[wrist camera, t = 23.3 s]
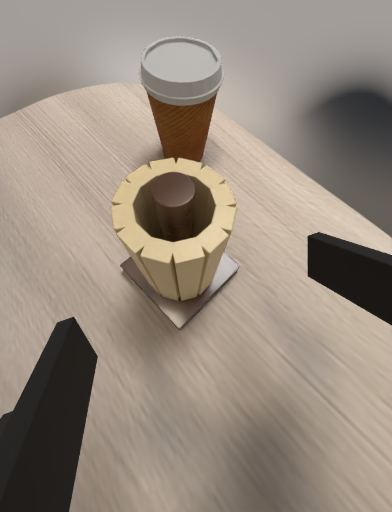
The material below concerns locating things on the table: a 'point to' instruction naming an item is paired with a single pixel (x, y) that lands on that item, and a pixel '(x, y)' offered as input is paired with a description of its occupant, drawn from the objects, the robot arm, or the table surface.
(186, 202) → the spindle stand
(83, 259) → the table surface
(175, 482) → the table surface
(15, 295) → the table surface
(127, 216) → the wooden stave sleeve
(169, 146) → the disposable coffee cup
